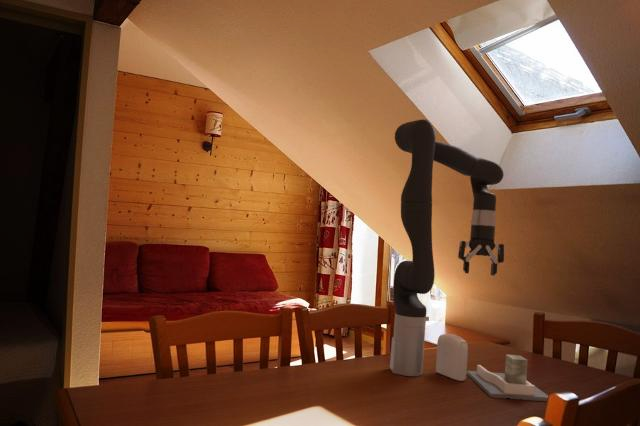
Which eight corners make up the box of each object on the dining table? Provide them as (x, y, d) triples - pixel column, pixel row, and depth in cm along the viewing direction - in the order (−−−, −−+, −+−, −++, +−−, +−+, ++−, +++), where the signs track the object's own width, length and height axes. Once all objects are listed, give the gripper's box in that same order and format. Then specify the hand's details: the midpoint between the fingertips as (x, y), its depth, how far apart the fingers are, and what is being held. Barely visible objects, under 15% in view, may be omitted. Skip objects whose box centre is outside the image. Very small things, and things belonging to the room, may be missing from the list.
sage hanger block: (510, 392, 142) (512, 359, 142) (503, 386, 147) (506, 354, 147) (525, 393, 142) (527, 360, 142) (518, 387, 147) (520, 355, 147)
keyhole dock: (490, 397, 139) (491, 384, 139) (466, 373, 161) (467, 362, 161) (550, 401, 140) (551, 388, 140) (518, 377, 162) (518, 366, 162)
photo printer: (433, 372, 161) (436, 331, 161) (443, 371, 163) (446, 331, 163) (457, 382, 152) (460, 339, 152) (468, 380, 154) (471, 338, 154)
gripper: (464, 222, 168) (461, 273, 167) (509, 226, 168) (505, 277, 167) (458, 222, 175) (454, 271, 175) (500, 226, 175) (497, 274, 175)
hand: (479, 274), depth 171 cm, fingers open, 8 cm apart
